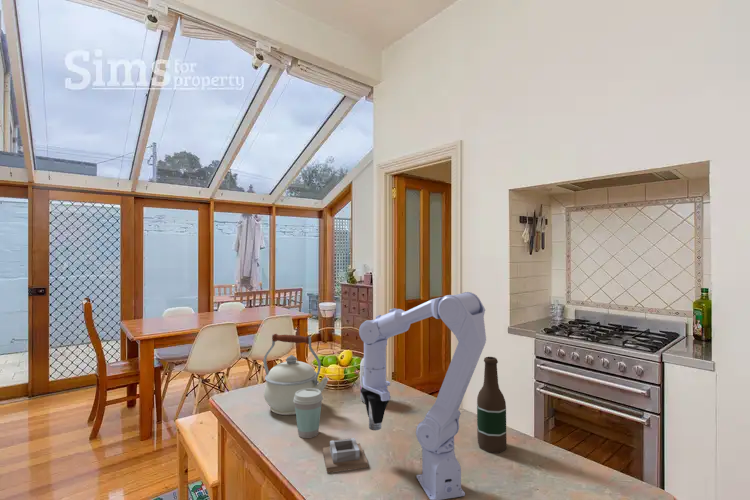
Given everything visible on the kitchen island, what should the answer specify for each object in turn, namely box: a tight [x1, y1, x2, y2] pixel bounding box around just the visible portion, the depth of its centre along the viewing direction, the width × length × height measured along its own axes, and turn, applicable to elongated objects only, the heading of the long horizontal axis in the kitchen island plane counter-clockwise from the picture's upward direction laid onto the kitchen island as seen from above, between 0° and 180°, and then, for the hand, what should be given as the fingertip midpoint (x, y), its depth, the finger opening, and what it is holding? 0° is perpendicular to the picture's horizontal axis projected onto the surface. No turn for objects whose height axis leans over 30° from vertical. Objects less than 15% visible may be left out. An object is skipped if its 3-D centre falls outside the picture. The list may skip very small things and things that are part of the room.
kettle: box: [262, 333, 330, 416], centre depth 133 cm, size 25×18×25 cm
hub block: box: [322, 437, 369, 474], centre depth 98 cm, size 10×10×4 cm
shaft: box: [368, 402, 382, 431], centre depth 99 cm, size 3×3×7 cm
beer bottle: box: [476, 356, 507, 454], centre depth 105 cm, size 8×8×24 cm
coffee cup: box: [293, 388, 324, 439], centre depth 113 cm, size 8×8×12 cm
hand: (375, 419), depth 99 cm, fingers closed on shaft, 3 cm apart
